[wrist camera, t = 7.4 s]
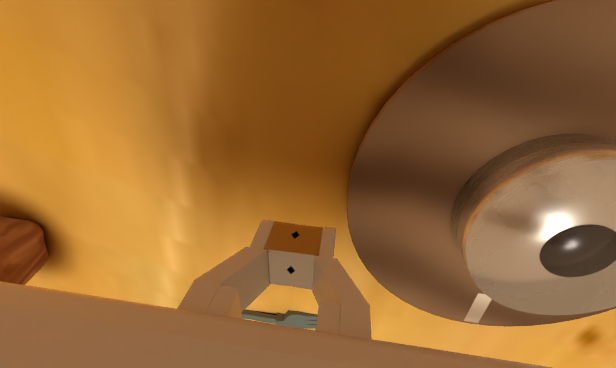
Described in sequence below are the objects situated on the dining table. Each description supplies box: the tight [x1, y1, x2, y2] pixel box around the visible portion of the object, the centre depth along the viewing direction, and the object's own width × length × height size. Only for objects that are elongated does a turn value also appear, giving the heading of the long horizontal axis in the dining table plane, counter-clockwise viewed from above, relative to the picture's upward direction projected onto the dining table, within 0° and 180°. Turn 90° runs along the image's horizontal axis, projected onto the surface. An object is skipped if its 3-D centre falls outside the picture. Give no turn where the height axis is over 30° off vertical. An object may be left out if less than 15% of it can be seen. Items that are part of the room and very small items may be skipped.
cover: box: [450, 133, 616, 315], centre depth 14 cm, size 9×9×3 cm
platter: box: [347, 0, 616, 326], centre depth 15 cm, size 20×20×1 cm
